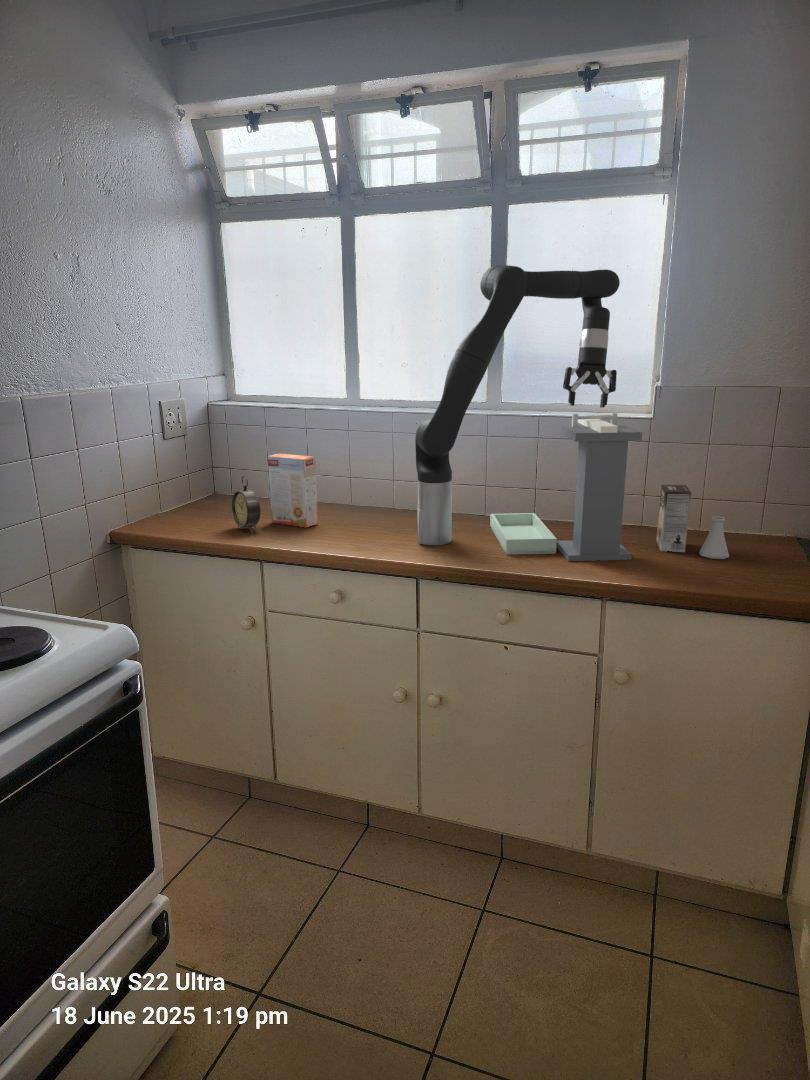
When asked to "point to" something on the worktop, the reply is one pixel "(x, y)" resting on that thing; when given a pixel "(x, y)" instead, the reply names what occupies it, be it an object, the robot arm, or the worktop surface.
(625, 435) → the grey pedestal stand
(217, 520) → the worktop surface
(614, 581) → the worktop surface
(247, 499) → the alarm clock
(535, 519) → the tray
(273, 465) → the cracker box
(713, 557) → the flask
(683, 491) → the coffee box
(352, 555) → the worktop surface
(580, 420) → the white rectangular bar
